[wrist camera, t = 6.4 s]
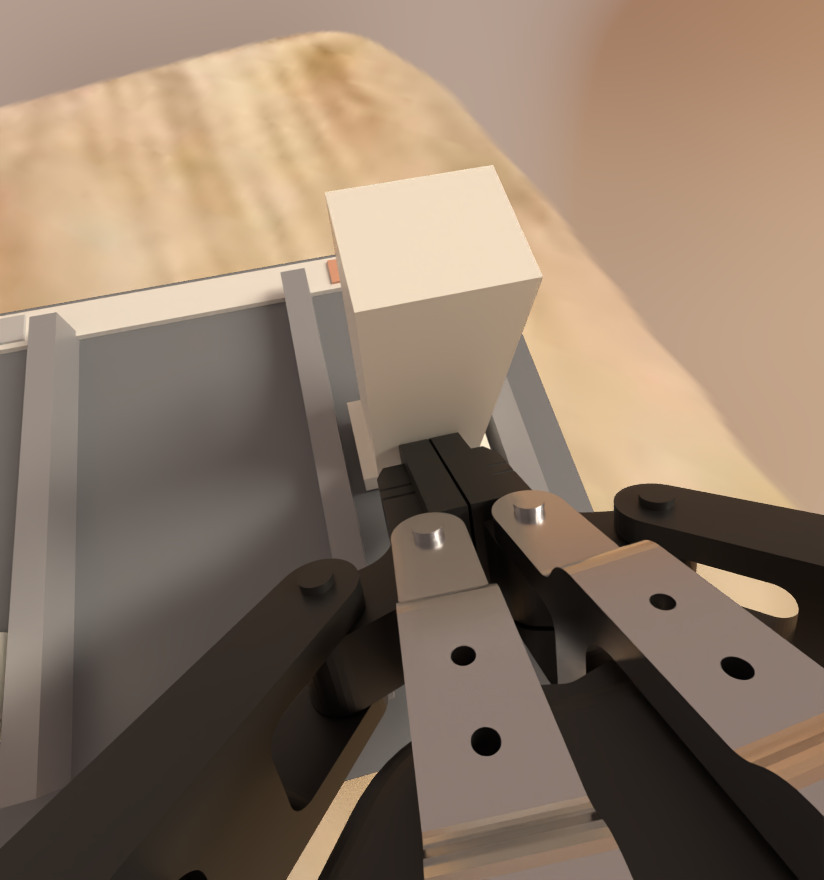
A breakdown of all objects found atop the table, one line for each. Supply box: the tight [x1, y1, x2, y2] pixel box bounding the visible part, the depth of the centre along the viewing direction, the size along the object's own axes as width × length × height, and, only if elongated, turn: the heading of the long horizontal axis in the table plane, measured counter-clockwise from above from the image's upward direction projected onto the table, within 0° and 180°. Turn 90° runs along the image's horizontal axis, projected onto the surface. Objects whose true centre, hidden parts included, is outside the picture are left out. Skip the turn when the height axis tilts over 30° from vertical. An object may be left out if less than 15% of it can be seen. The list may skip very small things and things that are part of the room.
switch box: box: [0, 255, 594, 848], centre depth 15 cm, size 22×16×4 cm
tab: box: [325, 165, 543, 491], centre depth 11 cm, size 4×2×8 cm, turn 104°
